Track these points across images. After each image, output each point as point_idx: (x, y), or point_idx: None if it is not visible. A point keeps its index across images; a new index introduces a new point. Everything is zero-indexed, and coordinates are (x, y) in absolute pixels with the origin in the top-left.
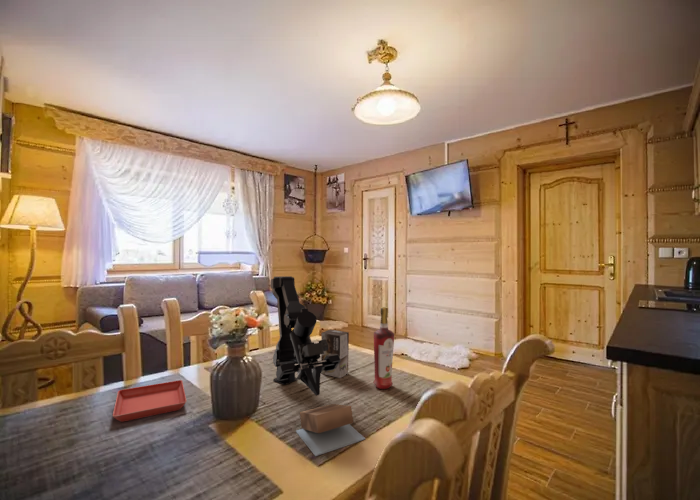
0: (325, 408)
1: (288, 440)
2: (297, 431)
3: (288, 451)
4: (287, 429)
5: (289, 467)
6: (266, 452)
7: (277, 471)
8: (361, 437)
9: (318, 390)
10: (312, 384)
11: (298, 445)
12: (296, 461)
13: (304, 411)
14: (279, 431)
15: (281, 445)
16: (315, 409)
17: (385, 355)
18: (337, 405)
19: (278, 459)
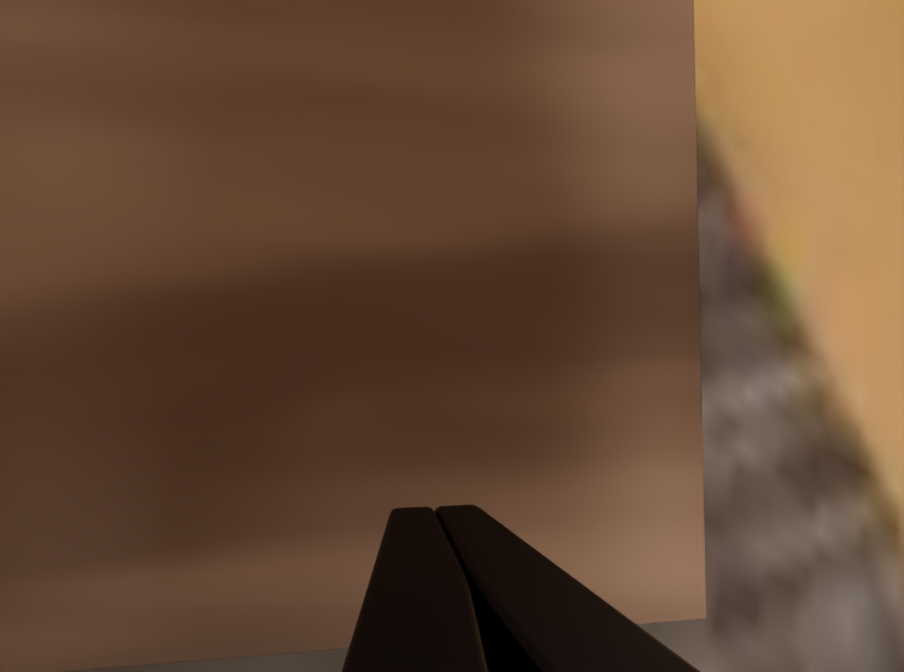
0: (340, 295)
1: (782, 384)
2: None
3: (800, 221)
4: (768, 616)
5: (813, 49)
6: None
7: (896, 59)
8: None
9: (426, 545)
10: (680, 662)
11: (701, 256)
12: (754, 78)
13: (646, 554)
14: (862, 615)
15: (854, 337)
16: (468, 475)
17: None
18: (59, 274)
19: (886, 170)
